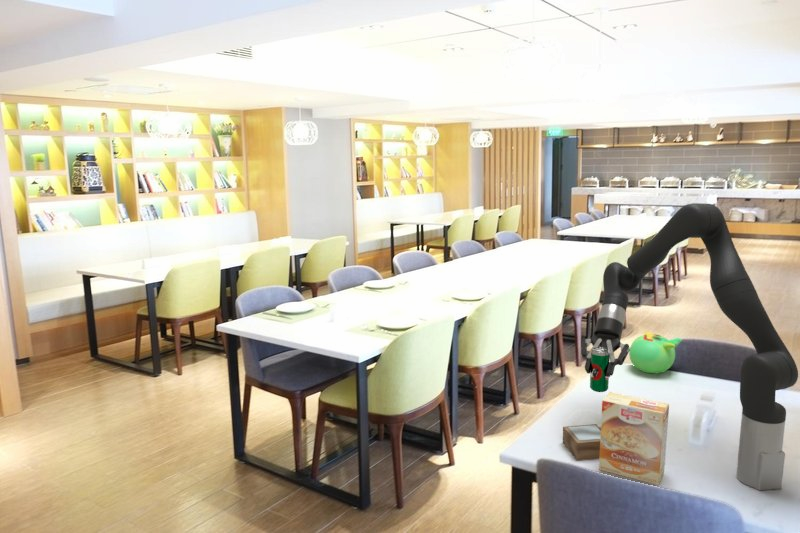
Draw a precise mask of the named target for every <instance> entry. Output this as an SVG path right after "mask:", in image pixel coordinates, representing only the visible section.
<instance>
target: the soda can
mask: <svg viewBox="0 0 800 533" xmlns="http://www.w3.org/2000/svg"><path fill="white" fill-rule="evenodd" d="M609 362H610V354H609V352H608V349H606V348H601V347H597V348H593V351H592V352H591V370H590V375H589V376H590V379H589V388H590V389H591V391H593V392H597V393H605V392H607V391H608V390H609V378H610V377H607V375H606V373H607V369H608V364H609Z"/></svg>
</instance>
